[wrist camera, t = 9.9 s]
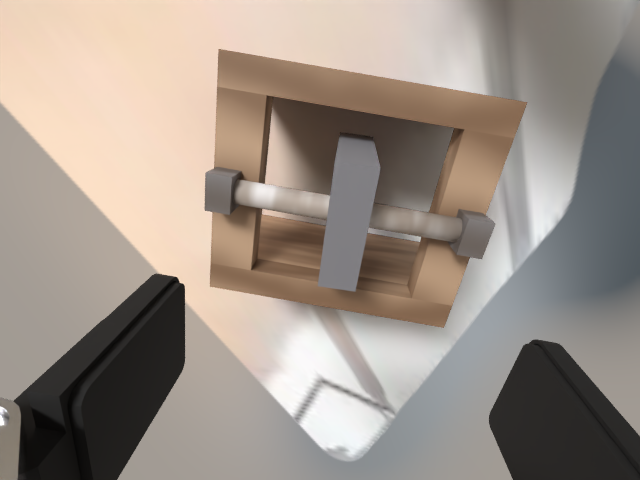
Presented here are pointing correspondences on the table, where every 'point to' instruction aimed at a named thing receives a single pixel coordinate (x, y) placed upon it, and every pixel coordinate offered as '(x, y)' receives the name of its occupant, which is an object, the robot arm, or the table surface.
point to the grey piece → (349, 211)
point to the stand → (307, 238)
